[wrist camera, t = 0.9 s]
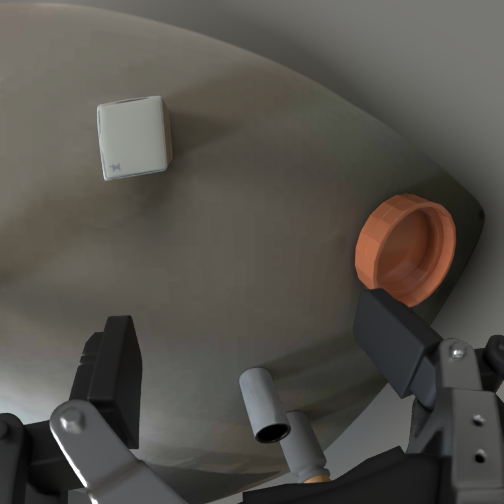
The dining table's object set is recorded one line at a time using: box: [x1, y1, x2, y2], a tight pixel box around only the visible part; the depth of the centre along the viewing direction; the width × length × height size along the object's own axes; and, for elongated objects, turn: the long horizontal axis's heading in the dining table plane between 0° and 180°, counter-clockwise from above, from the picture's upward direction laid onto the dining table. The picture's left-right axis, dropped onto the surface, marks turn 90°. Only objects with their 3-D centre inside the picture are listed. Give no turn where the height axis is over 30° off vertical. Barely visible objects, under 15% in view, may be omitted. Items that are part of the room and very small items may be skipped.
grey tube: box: [239, 368, 291, 443], centre depth 37 cm, size 4×4×10 cm
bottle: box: [280, 411, 331, 483], centre depth 41 cm, size 6×6×15 cm
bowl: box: [355, 193, 456, 308], centre depth 36 cm, size 14×14×5 cm
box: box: [97, 96, 173, 180], centre depth 22 cm, size 5×4×11 cm
